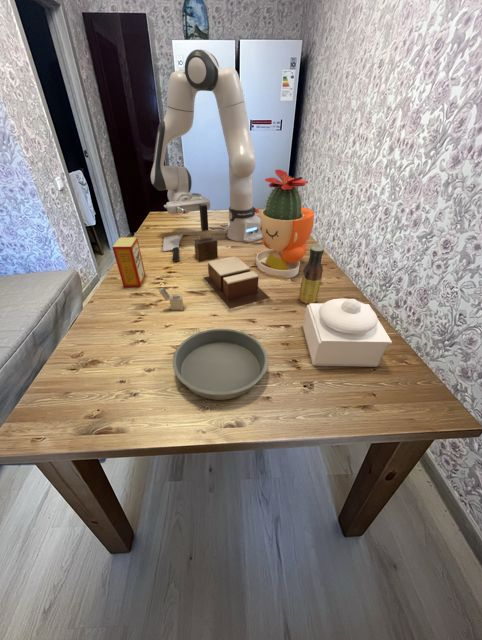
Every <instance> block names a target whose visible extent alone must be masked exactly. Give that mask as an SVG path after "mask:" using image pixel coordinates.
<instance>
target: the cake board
mask: <svg viewBox="0 0 482 640" xmlns="http://www.w3.org/2000/svg"><path fill="white" fill-rule="evenodd" d="M203 280H205V282H206V283H207V284H208V286H209V287H210V288H212V290H213V291H214V292H215V294H216V295H217V296H218V297H219V298H220V299H221V300H222V302H223V303H224V304H225V306H226V307H228V309H229V310H232V309H235V308H238V307H242V306H247V305H250V304H254V303H257V302H260V301H265V300H268V299H271V297H270V296H269V295H268V294H266V293H265V292H264V291H263V290H262V289H261V288H260V287H259V286H258V292H255V293H251V294H248V295H244V296H240V297H236V298H232V299H227V297H226V296H225V295H224V291H220V290H219V288H218V287H217V286H216V285H215V284H214V283H213V282H212V281H211V279H210V278H209V275H207V276H203Z"/></svg>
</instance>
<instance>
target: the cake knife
mask: <svg viewBox="0 0 482 640" xmlns="http://www.w3.org/2000/svg"><path fill="white" fill-rule="evenodd" d="M199 207H200V211H199V217H200V229H201V231H199V232H198V234H199V239H200V241H206V240H211V237H212V233H211V232H212V231H211V229H209V213H208V209H207V205H206V204H200V205H199Z"/></svg>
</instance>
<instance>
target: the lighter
mask: <svg viewBox="0 0 482 640" xmlns="http://www.w3.org/2000/svg"><path fill="white" fill-rule="evenodd" d="M158 292H159V293H160V295H161V297H162V298H163V299H164V300H165V301H168V300H169V305H170V310H171V311H183V310H184V309H185V307H184V299H183V296H180V295H179V294H172V296H170V294H169V293H168V291H167V290H166V289H165V287H160V288H159V289H158Z"/></svg>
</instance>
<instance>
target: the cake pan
mask: <svg viewBox="0 0 482 640" xmlns="http://www.w3.org/2000/svg"><path fill="white" fill-rule="evenodd" d="M268 367H269V357H268V352H267V351H266V349H265V347H264V346H263V344H262V343H261V342H260V341H259V340H258V339H257V338H255V337H254V336H252V335H250V334H248V333H246V332H244V331H241V330H237V329H232V328H211V329H206V330H203V331H199V332H197V333H194V334H192V335H190V336H188V337H187V338H186V339H184V340H183V341H182V342H180V344H179V345H178V346H177V347H176V349H175V351H174V354H173V357H172V369H173V373H174V374H175V377H176V378H177V379H178V381H180V382H181V383H182V384H183V385H184V386H185V387H186V388H187V389H188V390H189V391H191V392H192V393H193V394H195V395H197V396H199V397H202V398H204V399H207V400H215V401H216V400H217V401H222V400H223V401H225V400H231V399H235V398H237V397H241V396H242V395H244V394H247V393H248V392H249V391H250V390H252V389H253V388H254V386H255V385H256V384H257V383H258V382H260V380H262V378H263V377H264V376H265V374H266V372H267V370H268Z"/></svg>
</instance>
